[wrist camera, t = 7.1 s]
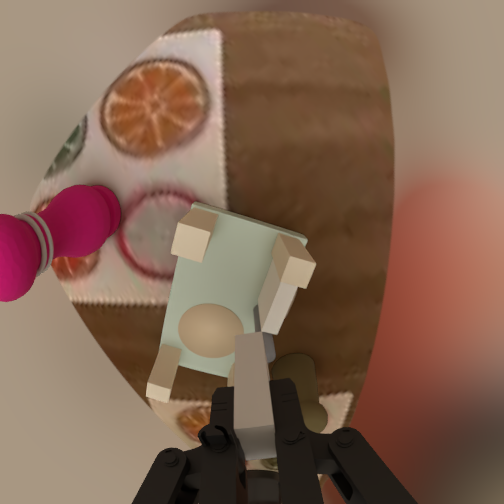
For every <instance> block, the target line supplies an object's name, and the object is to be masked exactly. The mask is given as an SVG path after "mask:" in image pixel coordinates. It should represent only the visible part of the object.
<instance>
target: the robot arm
mask: <svg viewBox="0 0 504 504" xmlns="http://www.w3.org/2000/svg"><path fill="white" fill-rule="evenodd" d="M198 438H199V440H200V441H201V443H202V445H201V446H199V447H197V448H195V449H191V450H188V451H184V452H183V451H182V450H180V449H178V448H167V449H164V450H163V451H161V452H160V453H159V454H158V455H157V457H156V459H155V461H154V463H153V464H152V466H151V468H150V470H149V472H148V474H147V476H146V478H145V480H144V482H143V483H142V485H141V487H140V489H139V491H138V493H137V495H136V497H135V498H134V500H133V502H132V504H198V503H199V504H324V502H323V498H322V493H321V488H320V484H319V479H318V475H317V474H328V476H329V477H330V479H331V481H332V482H333V484H334V485H335V487H336V488H337V490H338V492H339V493H340V494H341V496H342V498H343V499H344V501H345V503H346V504H418V503H417V502H416V501H415V500H414V498H413V497H412V496H411V495H410V494H409V492H408V491H407V490H406V489H405V488H404V486H403V485H402V484H401V483H400V482H399V480H398V479H397V478H396V477H395V476H394V475H393V473H392V472H391V471H390V469H389V468H388V467H387V466H386V465H385V463H384V462H383V461H382V460H381V458H380V457H379V456H378V455H377V454H376V452H375V451H374V450H373V448H372V447H371V446H370V445H369V443H368V442H367V441H366V440H365V438H364V437H363V436H362V435H361V433H360V432H359V431H357V430H356V429H353V428H350V427H343V428H340V429H337V430H336V431H334V432H333V433H332V434H321V433H315V432H313V431H311V430H309V429H308V428H307V427H306V425H305V423H304V419H303V415H302V410H301V406H300V402H299V398H298V394H297V389H296V385H295V383H294V382H293V381H292V380H291V379H290V378H284V379H278V380H272V381H270V377H269V370H268V363H267V358H266V352H265V346H264V340H263V335H262V331H261V332H254V333H247V334H240V335H235V372H234V386H231V387H221V388H217V389H216V391H215V392H214V394H213V395H212V405H211V415H210V424H208V425H206V426H204V427H203V428H202V429H201V430H200V431H199V433H198ZM274 457H277V463H278V472H279V473H276V472H270V471H247V469H246V466H245V459H246V461H247V460H257V459H266V458H274Z"/></svg>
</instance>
